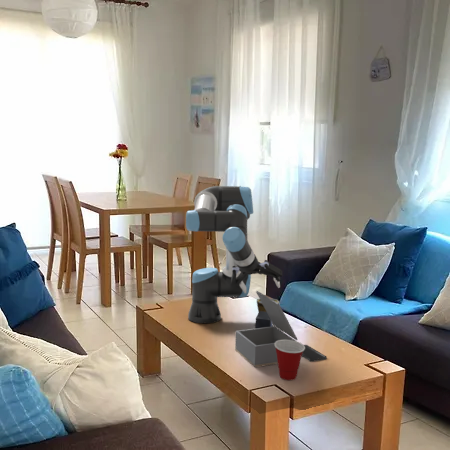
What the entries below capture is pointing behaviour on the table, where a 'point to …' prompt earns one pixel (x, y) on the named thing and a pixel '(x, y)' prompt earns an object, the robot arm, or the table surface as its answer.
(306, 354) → the phone
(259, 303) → the ceramic cup
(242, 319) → the table surface
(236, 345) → the grey open rectangular box
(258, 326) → the small box
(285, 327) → the lid
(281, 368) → the plastic cup
